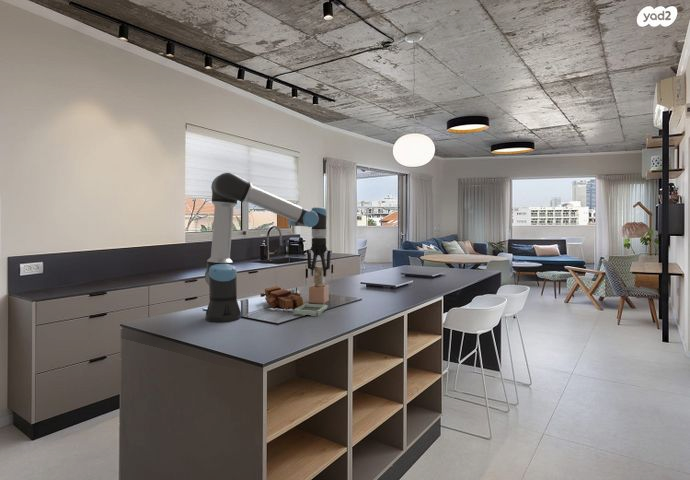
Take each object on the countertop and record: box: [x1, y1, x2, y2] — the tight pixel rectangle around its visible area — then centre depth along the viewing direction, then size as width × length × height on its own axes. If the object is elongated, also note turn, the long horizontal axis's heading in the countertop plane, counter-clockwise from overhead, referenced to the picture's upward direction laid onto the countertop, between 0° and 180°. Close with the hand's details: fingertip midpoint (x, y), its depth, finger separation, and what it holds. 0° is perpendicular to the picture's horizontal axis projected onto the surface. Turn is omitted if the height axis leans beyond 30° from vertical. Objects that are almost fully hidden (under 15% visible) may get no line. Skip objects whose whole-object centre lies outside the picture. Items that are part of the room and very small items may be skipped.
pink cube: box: [308, 284, 330, 304], centre depth 221 cm, size 8×8×9 cm
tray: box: [292, 303, 329, 317], centre depth 201 cm, size 12×14×2 cm
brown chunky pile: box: [259, 285, 305, 311], centre depth 214 cm, size 17×9×30 cm
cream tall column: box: [314, 265, 324, 287], centre depth 220 cm, size 4×4×18 cm
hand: (318, 282), depth 220 cm, fingers closed on cream tall column, 4 cm apart
